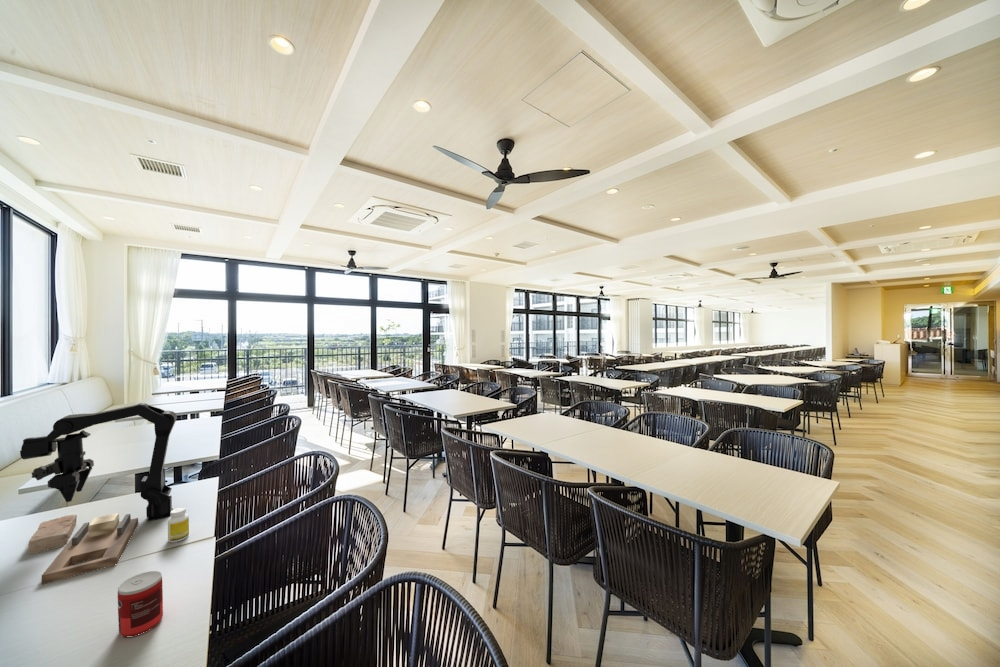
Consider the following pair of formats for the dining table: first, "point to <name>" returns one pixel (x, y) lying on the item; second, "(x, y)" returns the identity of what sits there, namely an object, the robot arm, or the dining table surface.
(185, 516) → the supplement bottle
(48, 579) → the lane board
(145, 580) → the canned food
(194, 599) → the dining table surface
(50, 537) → the brick
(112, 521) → the block
